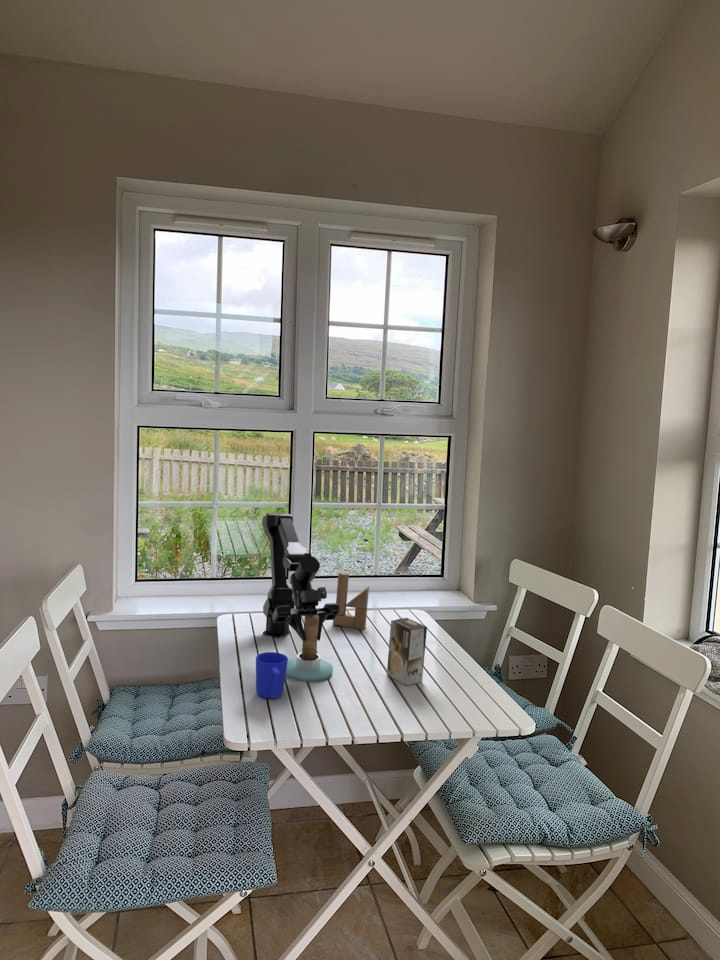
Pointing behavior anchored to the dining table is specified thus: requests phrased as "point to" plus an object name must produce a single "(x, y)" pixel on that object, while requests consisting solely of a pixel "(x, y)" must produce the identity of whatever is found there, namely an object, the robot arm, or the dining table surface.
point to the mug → (270, 674)
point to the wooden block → (350, 605)
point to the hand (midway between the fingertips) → (311, 640)
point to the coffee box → (406, 651)
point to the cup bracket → (308, 669)
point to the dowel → (310, 637)
